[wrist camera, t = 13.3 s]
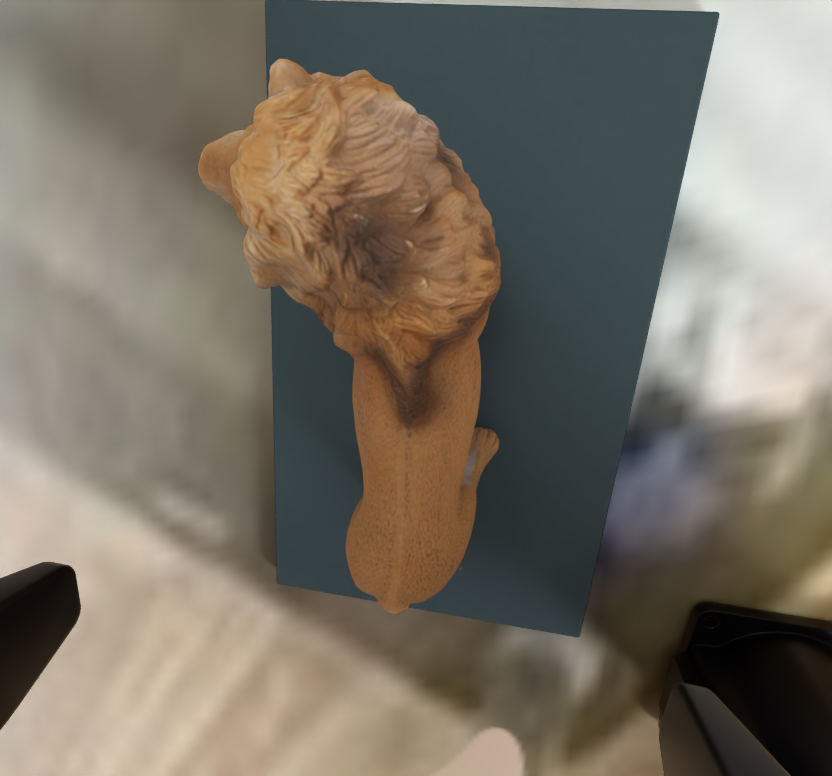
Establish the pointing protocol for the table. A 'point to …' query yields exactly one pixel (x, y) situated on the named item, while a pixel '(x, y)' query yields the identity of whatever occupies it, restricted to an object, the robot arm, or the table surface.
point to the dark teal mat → (506, 277)
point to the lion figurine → (378, 300)
